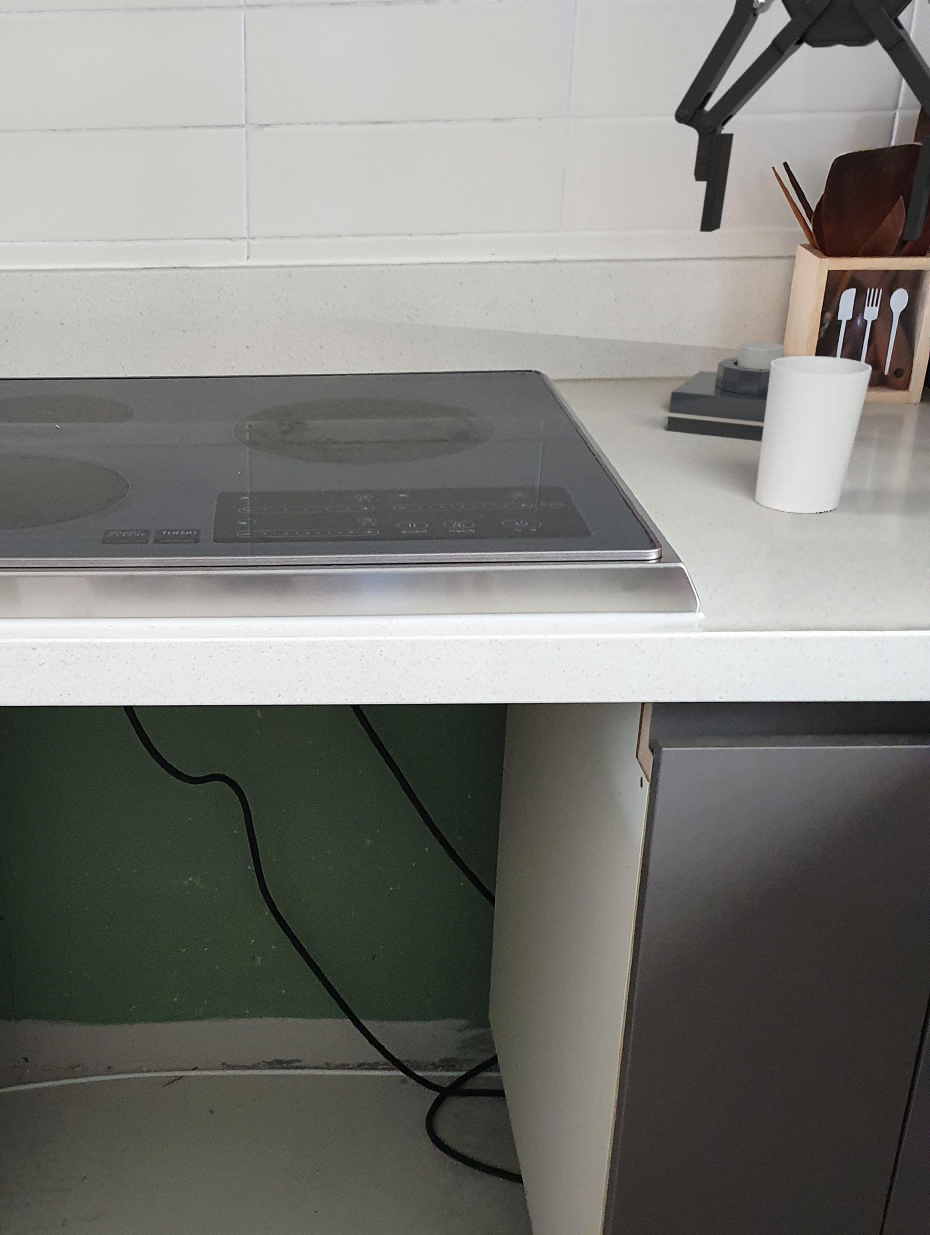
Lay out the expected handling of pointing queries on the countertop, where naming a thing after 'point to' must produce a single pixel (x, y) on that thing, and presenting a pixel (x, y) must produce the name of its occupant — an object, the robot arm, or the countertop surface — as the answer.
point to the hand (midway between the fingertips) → (806, 234)
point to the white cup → (809, 431)
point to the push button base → (722, 401)
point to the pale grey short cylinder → (759, 354)
